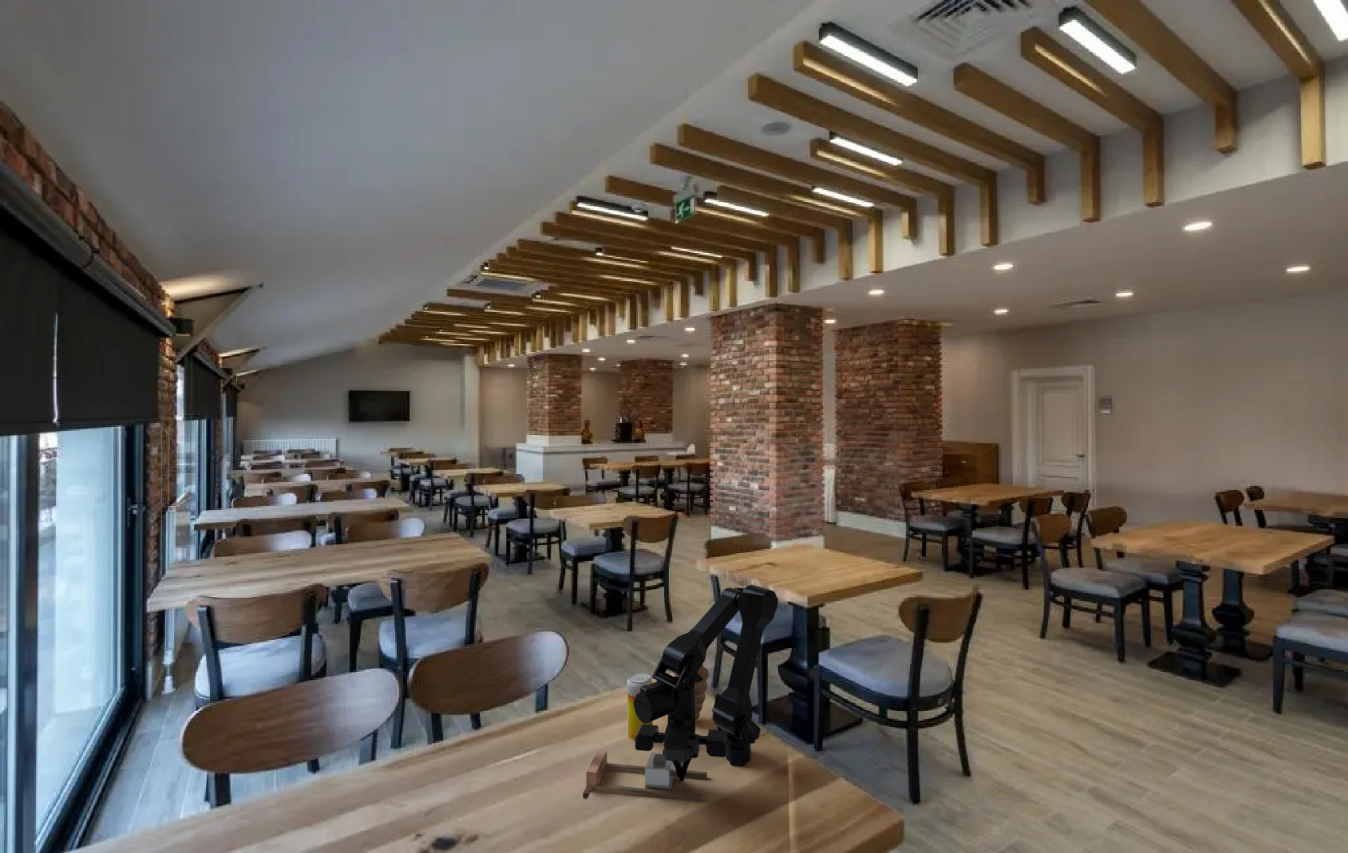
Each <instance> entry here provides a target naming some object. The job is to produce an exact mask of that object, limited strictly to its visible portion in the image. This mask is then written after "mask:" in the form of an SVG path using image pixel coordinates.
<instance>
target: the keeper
mask: <svg viewBox="0 0 1348 853" xmlns="http://www.w3.org/2000/svg"><path fill="white" fill-rule="evenodd" d="M644 767H645V774H644V778H645V779H644V780H645V781H644V782H645V783H644V785H645V786H644V789H654V790H664V791H672V787H673V783H674V780H675V777H674V769H675V767H674V764H673V762H672V761H668V760H666V759H665V756H664V755H663V752H653V751H652V752H650V754H649V757H648V759H647V762H646V765H645V766H644Z"/></svg>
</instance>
